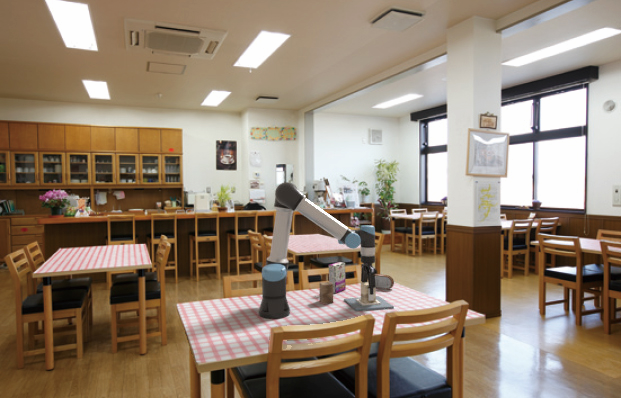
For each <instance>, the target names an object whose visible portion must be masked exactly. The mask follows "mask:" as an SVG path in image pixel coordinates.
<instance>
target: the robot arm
mask: <svg viewBox="0 0 621 398" xmlns="http://www.w3.org/2000/svg"><path fill="white" fill-rule="evenodd" d="M306 196H307V195H305V194H304V193H303V192H301V191H300V190H299V188H298V187H297V185H296V184H294V183H293V182H282V183H280V184H278V185H277V186H276V189H275V191H274V198H275V199H274V205H273V208H274V209H275V211H276V212H275V219H274V226H273V232H272V239H271V246H270V247H271V248H270V254H269V256H268V257H266V262H265V265H263V267H262V269H261V286H262V287H261V288H262V289H261V290H262V291H261V295H262V296H261V301H260V305H259V308H258V315H259V316H260V317H262V318H264V319H281V318H286V317H288V316H289V315H290V314H291V307H290V305H289V302H288V299H287V278H288V277H287V276H288V268H289V259H288V258H287V255H288V249H289V241H290V235H291V227H292V221H293V215H294V212H299V213H300V214H301V216H304V217H306V218H307V219H308V220H309V221H311V222H312V223H314V224H315V225H316V226H319V228H321V229H323V230H324V231H325V232H327V233H328V234H330V235H331V236H333V237H334V238H335V239H337V243H338V244H339V245H345V246H346V247H348V248H350V249H357V248H359V246H360V262H361V264H360V265H361V272H360V274H361V275H360V283H361V282H368V283H369V287H368V301H373V300H374V288H375V287H376V284H375V274H376V268H375V267H373V264H374V263H376V256H375V255H376V228H375V226H374V225H370V224H369V225H368V224H367V225H360V228H359V229H351V228H349V227H348V226H346V225H345V224H343V223H342V222H341V221H339V220H337V219H336V218H335V217H333V216H332V215H330V214H329V213H328V212H326V211H325V210H323V209H322V208H321V207H320V206H318V205H317V204H315V203H314V202H312V201H311V200H309V199H308V198H307V197H306Z"/></svg>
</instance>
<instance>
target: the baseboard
mask: <svg viewBox="0 0 621 398" xmlns="http://www.w3.org/2000/svg"><path fill="white" fill-rule="evenodd" d="M356 299H361V296H360V297H349V298H348V297H347V298H343V301H344V302H345V303H347V305H348V306H350V307H351V308H352V309H353V310H354V311H355V312H363V310H366V311H377V309H379V310H385V309H384V308H391V309H394V307H395V306H394V305H393V304H391V303H390V302H388V301H387V300H385V299H384V298H382V297H381V296H380V295H378V296H377V295H376V300H378V301H379V302H380V303H381V304H378V305H365V306H362V305H361V304H360V303H358V302H357V301H356Z"/></svg>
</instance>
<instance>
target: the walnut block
mask: <svg viewBox="0 0 621 398" xmlns="http://www.w3.org/2000/svg"><path fill="white" fill-rule="evenodd" d="M319 302H320V303H321V304H322V305H323V304H324V305H325V304H334V293H333V284H332V283H331V282H329V281H325V282H324V281H321V282H319Z"/></svg>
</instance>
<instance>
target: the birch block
mask: <svg viewBox="0 0 621 398" xmlns="http://www.w3.org/2000/svg"><path fill="white" fill-rule="evenodd" d="M368 287H369V283H368V281H367V282H361V281H360V297H361V302H362V303H376V296H377V295H376V294H377V293H376V291H377V288H376V287H375V288H374V300H373V301H368Z"/></svg>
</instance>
